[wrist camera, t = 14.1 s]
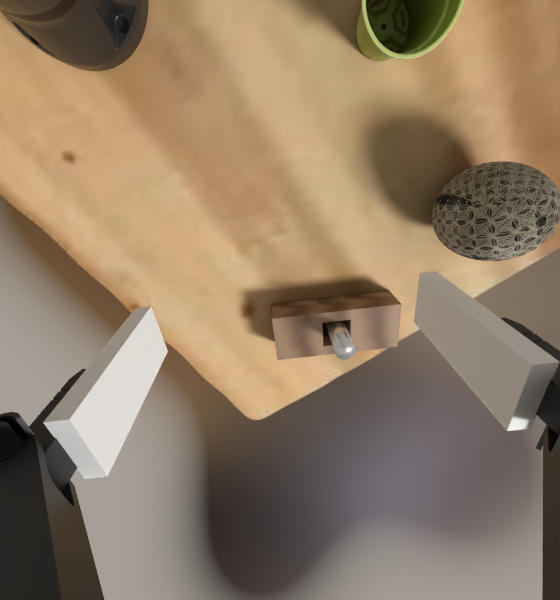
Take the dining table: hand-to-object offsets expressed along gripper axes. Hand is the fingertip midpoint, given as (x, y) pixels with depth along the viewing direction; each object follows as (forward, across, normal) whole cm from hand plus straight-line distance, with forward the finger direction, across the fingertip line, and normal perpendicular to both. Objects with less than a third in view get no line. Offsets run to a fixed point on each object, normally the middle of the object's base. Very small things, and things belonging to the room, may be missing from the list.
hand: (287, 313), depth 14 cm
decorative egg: (+31, +27, -3) cm, 41 cm away
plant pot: (+32, +15, +18) cm, 39 cm away
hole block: (+31, +8, -20) cm, 37 cm away
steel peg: (+31, +8, -20) cm, 37 cm away
